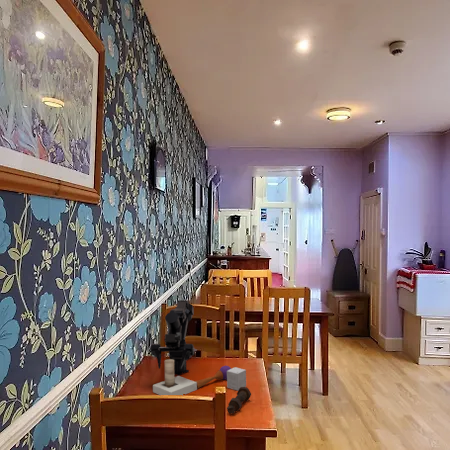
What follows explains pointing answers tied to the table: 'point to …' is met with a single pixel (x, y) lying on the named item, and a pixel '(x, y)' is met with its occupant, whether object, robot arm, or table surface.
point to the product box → (236, 378)
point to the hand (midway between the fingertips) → (169, 368)
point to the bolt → (238, 400)
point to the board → (175, 387)
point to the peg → (169, 373)
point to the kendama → (219, 375)
